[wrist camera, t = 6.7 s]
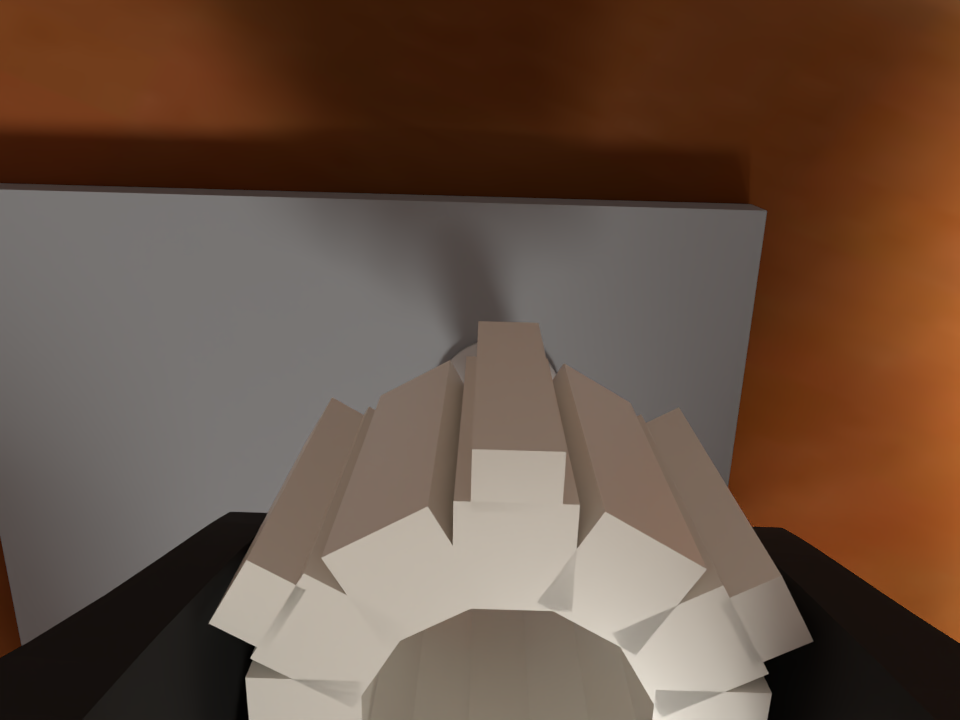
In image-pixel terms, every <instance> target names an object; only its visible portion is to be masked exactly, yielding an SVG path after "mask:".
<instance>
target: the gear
mask: <svg viewBox="0 0 960 720" xmlns="http://www.w3.org/2000/svg"><path fill="white" fill-rule="evenodd" d="M209 624H211V625H213V626H215V627H217V628H219V629H221V630H223V631H225V632H227V633H229V634H231V635H233V636H235V637H237V638H239V639H241V640H243V641H245V642H247V643H249V644H251V645H253V646H255V648H254V650H253V652H252V655H251V657H250V659H252V660H253V661H252V663H251V665H250V668H249V670H248V672H247V675H246V677H245V680H246V692H247V703H248V715H249V720H767V718H768V712H769V707H770V701H771V696H772V692H771V690H770V688H769V686H768V684H767V682H766V680H765V678H764V676H765V675H767V674H769V673H768V671H767V669H766V667H765V664H764V662H765V661H767V660H770V659H772V658H774V657H777V656H779V655H782V654H784V653H787V652H789V651H791V650H794V649H796V648H799V647H801V646H804V645H806V644H808V643H811V642H813V639H812V637H811V635H810V633H809V631H808V629H807V627H806V624H805V622H804V620H803V618H802V616H801V614H800V612H799V610H798V608H797V606H796V604H795V602H794V600H793V598H792V596H791V594H790V592H789V590H788V588H787V586H786V584H785V582H784V579H783V577H782V575H781V574H780V572H779V571H778V569H777V567H776V566H775V564H774V562H773V561H772V559H771V557H770V556H769V554H768V552H767V551H766V549H765V548H764V546H763V544H762V543H761V541H760V539H759V538H758V536H757V534H756V533H755V531H754V530H753V528H752V526H751V525H750V523H749V521H748V520H747V518H746V516H745V515H744V513H743V512H742V510H741V508H740V507H739V505H738V503H737V502H736V500H735V498H734V497H733V495H732V494H731V492H730V490H729V489H728V487H727V485H726V484H725V482H724V480H723V479H722V477H721V476H720V474H719V472H718V471H717V469H716V467H715V466H714V464H713V462H712V461H711V459H710V457H709V456H708V454H707V453H706V451H705V449H704V448H703V446H702V444H701V443H700V441H699V439H698V438H697V436H696V435H695V433H694V431H693V430H692V428H691V426H690V425H689V423H688V421H687V420H686V418H685V417H684V415H683V413H682V412H681V410H680V408H679V407H678V408H676V409H674V410H672V411H670V412H668V413H666V414H664V415H662V416H659V417H657V418H655V419H653V420H651V421H649V422H647V423H646V422H645V420H644V419H643V417H642V415H639V416H636V414H635V412H634V409H633V407H632V405H631V403H630V402H628V401H626V400H625V399H623V398H621V397H620V396H618V395H616V394H615V393H613V392H611V391H610V390H608V389H606V388H605V387H603V386H601V385H600V384H598V383H596V382H595V381H593V380H591V379H590V378H588V377H586V376H584V375H583V374H581V373H579V372H578V371H576V370H574V369H573V368H571V367H569V366H568V365H566V364H563V365H562V367H561V368H560V370H559V371H558V373H557V374H556V376H555V377H554V378H553V380H552V376H551V371H550V367H549V362H548V359H546V356H545V351H544V346H543V342H542V337H541V332H540V328H539V323H527V322H492V321H479V322H478V342H477V357H473V356H467V357H466V368H465V379H464V383H463V381H462V380H461V378H460V376H459V375H458V373H457V371H456V369H455V368H454V366H453V364H452V363H451V361H450V360H449V361H447V362H445V363H443V364H441V365H439V366H437V367H435V368H434V369H432V370H430V371H428V372H426V373H424V374H422V375H420V376H418V377H416V378H414V379H412V380H410V381H408V382H406V383H404V384H402V385H401V386H399V387H397V388H395V389H393V390H391V391H389V392H387V393H385V394H383V395H381V396H380V399H379V401H378V404H377V407H376V410H374V409H373V408H371V407H368V409H367V410H366V412H365V414H364V415H363V414H361V413H359V412H358V411H356V410H354V409H352V408H350V407H349V406H347V405H345V404H343V403H341V402H340V401H338V400H336V399H334V398H331V400H330V402H329V403H328V405H327V407H326V409H325V410H324V412H323V414H322V415H321V417H320V419H319V420H318V422H317V424H316V425H315V427H314V429H313V431H312V432H311V434H310V436H309V437H308V439H307V441H306V442H305V444H304V446H303V448H302V450H301V452H300V454H299V455H298V457H297V459H296V461H295V463H294V465H293V467H292V468H291V470H290V472H289V474H288V476H287V478H286V480H285V482H284V483H283V485H282V487H281V489H280V491H279V493H278V495H277V497H276V498H275V500H274V502H273V504H272V506H271V508H270V510H269V511H268V513H267V515H266V517H265V519H264V521H263V523H262V525H261V526H260V528H259V530H258V532H257V534H256V536H255V538H254V540H253V542H252V543H251V545H250V547H249V549H248V551H247V553H246V554H245V556H244V558H243V560H242V562H241V564H240V566H239V568H238V569H237V571H236V573H235V575H234V577H233V579H232V581H231V582H230V584H229V586H228V588H227V590H226V592H225V594H224V596H223V597H222V599H221V601H220V603H219V605H218V607H217V609H216V610H215V612H214V614H213V616H212V618H211V620H210V622H209Z"/></svg>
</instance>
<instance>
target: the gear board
mask: <svg viewBox="0 0 960 720" xmlns="http://www.w3.org/2000/svg"><path fill="white" fill-rule="evenodd" d="M766 215H767V211H766V210H764V209H762V208H759V207H757V206H754V205H752V204H731V203H695V202H659V201H623V200H587V199H551V198H515V197H479V196H443V195H406V194H370V193H334V192H298V191H262V190H226V189H190V188H154V187H118V186H82V185H46V184H10V183H0V537H1V542H2V547H3V553H4V558H5V563H6V568H7V573H8V578H9V583H10V589H11V594H12V599H13V604H14V609H15V614H16V619H17V625H18V630H19V635H20V640H21V645H24V644H26V643H28V642H29V641H31V640H33V639H34V638H36V637H37V636H39V635H41V634H42V633H44V632H46V631H47V630H49V629H50V628H52V627H54V626H55V625H57V624H58V623H60V622H62V621H63V620H65V619H67V618H68V617H70V616H71V615H73V614H75V613H76V612H78V611H80V610H81V609H83V608H84V607H86V606H88V605H89V604H91V603H93V602H94V601H96V600H97V599H99V598H101V597H102V596H104V595H106V594H107V593H109V592H110V591H112V590H113V589H115V588H116V587H118V586H119V585H121V584H122V583H124V582H125V581H126V580H128V579H129V578H131V577H132V576H134V575H135V574H137V573H138V572H140V571H141V570H143V569H144V568H146V567H147V566H149V565H150V564H152V563H153V562H155V561H156V560H158V559H159V558H161V557H162V556H163V555H165V554H166V553H168V552H169V551H171V550H172V549H174V548H175V547H177V546H178V545H179V544H181V543H182V542H184V541H185V540H187V539H188V538H190V537H191V536H193V535H194V534H195V533H197V532H198V531H200V530H201V529H203V528H204V527H206V526H207V525H209V524H210V523H212V522H213V521H215V520H217V519H218V518H220V517H222V516H223V515H225V514H227V513H229V512H258V513H268V511H269V510H270V508H271V506H272V504H273V502H274V500H275V498H276V497H277V495H278V493H279V491H280V489H281V487H282V485H283V483H284V482H285V480H286V478H287V476H288V474H289V472H290V470H291V468H292V467H293V465H294V463H295V461H296V459H297V457H298V455H299V454H300V452H301V450H302V448H303V446H304V444H305V442H306V441H307V439H308V437H309V436H310V434H311V432H312V431H313V429H314V427H315V425H316V424H317V422H318V420H319V419H320V417H321V415H322V414H323V412H324V410H325V409H326V407H327V405H328V403H329V402H330V400H331V398H334V399H336V400H338V401H340V402H341V403H343V404H345V405H347V406H349V407H350V408H352V409H354V410H356V411H358V412H359V413H361V414H363V415H364V414H365V412H366V410H367V409H368V407H371V408H373V409H374V410H376V407H377V404H378V401H379V399H380V396H381V395H383V394H385V393H387V392H389V391H391V390H393V389H395V388H397V387H399V386H401V385H402V384H404V383H406V382H408V381H410V380H412V379H414V378H416V377H418V376H420V375H422V374H424V373H426V372H428V371H430V370H432V369H434V368H435V367H437V366H439V365H441V364H443V363H445V362H447V361H449V360H450V361H451V363H452V364H453V366H454V368H455V369H456V371H457V373H458V375H459V376H460V378H461V380H462V381H463V383H464V379H465V368H466V357H467V356H473V357H477V342H478V322H479V321H492V322H527V323H539V328H540V332H541V337H542V342H543V346H544V351H545V356H546V359H548V362H549V367H550V371H551V376H552V380H553V378H554V377H555V376H556V374H557V373H558V371H559V370H560V368H561V367H562V365H563V364H566V365H568V366H569V367H571V368H573V369H574V370H576V371H578V372H579V373H581V374H583V375H584V376H586V377H588V378H590V379H591V380H593V381H595V382H596V383H598V384H600V385H601V386H603V387H605V388H606V389H608V390H610V391H611V392H613V393H615V394H616V395H618V396H620V397H621V398H623V399H625V400H626V401H628V402H630V403H631V405H632V407H633V409H634V412H635V414H636V416H639V415H642V417H643V419H644V420H645V422H646V423H647V422H649V421H651V420H653V419H655V418H657V417H659V416H662V415H664V414H666V413H668V412H670V411H672V410H674V409H676V408H678V407H679V408H680V410H681V412H682V413H683V415H684V417H685V418H686V420H687V421H688V423H689V425H690V426H691V428H692V430H693V431H694V433H695V435H696V436H697V438H698V439H699V441H700V443H701V444H702V446H703V448H704V449H705V451H706V453H707V454H708V456H709V457H710V459H711V461H712V462H713V464H714V466H715V467H716V469H717V471H718V472H719V474H720V476H721V477H722V479H723V480H724V482H725V484H726V485H727V487H728V483H729V476H730V469H731V462H732V454H733V447H734V440H735V433H736V426H737V419H738V412H739V405H740V398H741V391H742V384H743V377H744V370H745V363H746V356H747V349H748V342H749V335H750V328H751V321H752V313H753V306H754V299H755V292H756V285H757V278H758V271H759V264H760V257H761V250H762V243H763V236H764V229H765V222H766Z"/></svg>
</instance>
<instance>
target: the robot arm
mask: <svg viewBox="0 0 960 720" xmlns="http://www.w3.org/2000/svg"><path fill="white" fill-rule="evenodd" d="M266 515H267V513H258V512H229V513H227V514H225V515H223V516H222V517H220V518H218V519H217V520H215V521H213V522H212V523H210V524H209V525H207V526H206V527H204V528H203V529H201V530H200V531H198V532H197V533H195V534H194V535H193V536H191V537H190V538H188V539H187V540H185V541H184V542H182V543H181V544H179V545H178V546H177V547H175V548H174V549H172V550H171V551H169V552H168V553H166V554H165V555H163V556H162V557H161V558H159V559H158V560H156V561H155V562H153V563H152V564H150V565H149V566H147V567H146V568H144V569H143V570H141V571H140V572H138V573H137V574H135V575H134V576H132V577H131V578H129V579H128V580H126V581H125V582H124V583H122V584H121V585H119V586H118V587H116V588H115V589H113V590H112V591H110V592H109V593H107V594H106V595H104V596H102V597H101V598H99V599H97V600H96V601H94V602H93V603H91V604H89V605H88V606H86V607H84V608H83V609H81V610H80V611H78V612H76V613H75V614H73V615H71V616H70V617H68V618H67V619H65V620H63V621H62V622H60V623H58V624H57V625H55V626H54V627H52V628H50V629H49V630H47V631H46V632H44V633H42V634H41V635H39V636H37V637H36V638H34V639H33V640H31V641H29V642H28V643H26V644H24V645H22V646H21V647H19V648H17V649H15V650H14V651H12V652H10V653H8V654H7V655H5V656H3V657H1V658H0V720H249V715H248V703H247V692H246V680H245V677H246V675H247V672H248V670H249V668H250V665H251V663H252V661H253V660H252V659H250V657H251V655H252V652H253V650H254V648H255V646H253V645H251V644H249V643H247V642H245V641H243V640H241V639H239V638H237V637H235V636H233V635H231V634H229V633H227V632H225V631H223V630H221V629H219V628H217V627H215V626H213V625H211V624H209V622H210V620H211V618H212V616H213V614H214V612H215V610H216V609H217V607H218V605H219V603H220V601H221V599H222V597H223V596H224V594H225V592H226V590H227V588H228V586H229V584H230V582H231V581H232V579H233V577H234V575H235V573H236V571H237V569H238V568H239V566H240V564H241V562H242V560H243V558H244V556H245V554H246V553H247V551H248V549H249V547H250V545H251V543H252V542H253V540H254V538H255V536H256V534H257V532H258V530H259V528H260V526H261V525H262V523H263V521H264V519H265V517H266ZM752 528H753V530H754V531H755V533H756V534H757V536H758V538H759V539H760V541H761V543H762V544H763V546H764V548H765V549H766V551H767V552H768V554H769V556H770V557H771V559H772V561H773V562H774V564H775V566H776V567H777V569H778V571H779V572H780V574H781V575H782V577H783V579H784V582H785V584H786V586H787V588H788V590H789V592H790V594H791V596H792V598H793V600H794V602H795V604H796V606H797V608H798V610H799V612H800V614H801V616H802V618H803V620H804V622H805V624H806V627H807V629H808V631H809V633H810V635H811V637H812V639H813V642H811V643H808V644H806V645H804V646H801V647H799V648H796V649H794V650H791V651H789V652H787V653H784V654H782V655H779V656H777V657H774V658H772V659H770V660H767V661H765V662H764V664H765V667H766V669H767V671H768V673H769V674H767V675H765V676H764V678H765V680H766V682H767V684H768V686H769V688H770V690H771V692H772V696H771V701H770V707H769V712H768V718H767V720H960V643H958V642H957V641H955V640H954V639H952V638H950V637H949V636H947V635H946V634H944V633H943V632H941V631H939V630H938V629H936V628H935V627H933V626H932V625H930V624H928V623H927V622H925V621H924V620H922V619H921V618H919V617H918V616H916V615H915V614H913V613H912V612H910V611H909V610H907V609H906V608H904V607H903V606H901V605H900V604H898V603H897V602H895V601H893V600H892V599H890V598H889V597H887V596H886V595H885V594H883V593H882V592H880V591H879V590H877V589H876V588H874V587H873V586H871V585H870V584H868V583H867V582H865V581H864V580H862V579H861V578H859V577H858V576H856V575H855V574H854V573H852V572H851V571H849V570H848V569H846V568H845V567H843V566H842V565H840V564H839V563H837V562H836V561H834V560H833V559H831V558H830V557H828V556H827V555H825V554H824V553H822V552H821V551H819V550H818V549H816V548H815V547H813V546H812V545H810V544H809V543H807V542H805V541H804V540H802V539H801V538H799V537H797V536H796V535H794V534H792V533H790V532H789V531H787V530H785V529H783V528H776V527H752Z"/></svg>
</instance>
